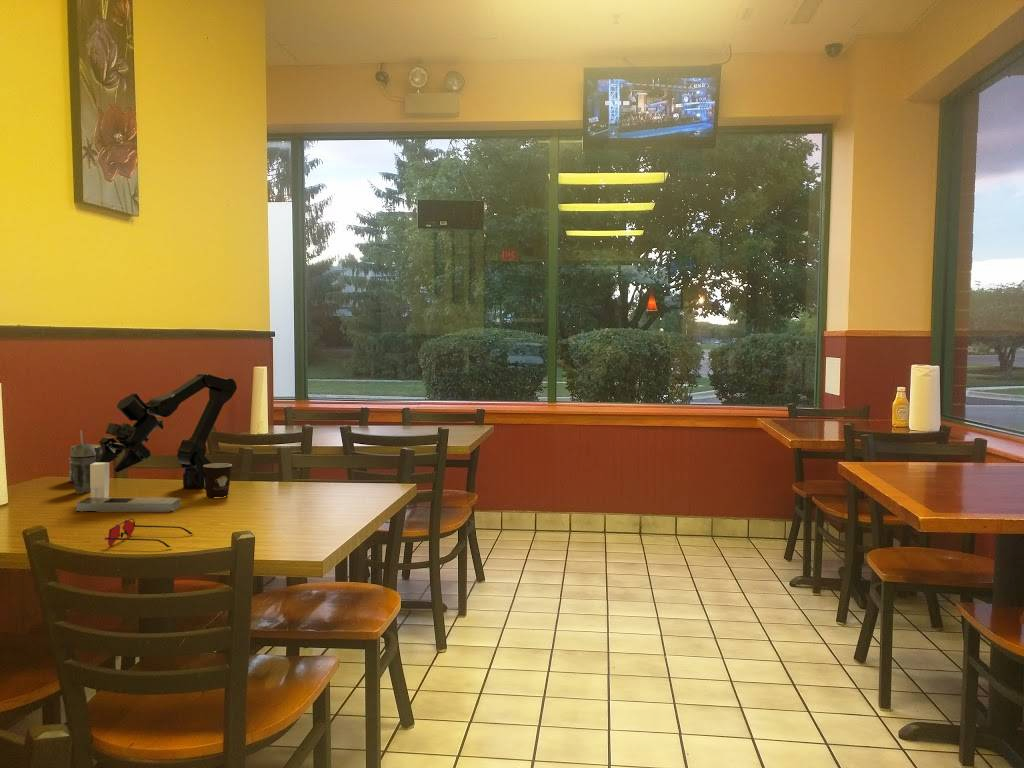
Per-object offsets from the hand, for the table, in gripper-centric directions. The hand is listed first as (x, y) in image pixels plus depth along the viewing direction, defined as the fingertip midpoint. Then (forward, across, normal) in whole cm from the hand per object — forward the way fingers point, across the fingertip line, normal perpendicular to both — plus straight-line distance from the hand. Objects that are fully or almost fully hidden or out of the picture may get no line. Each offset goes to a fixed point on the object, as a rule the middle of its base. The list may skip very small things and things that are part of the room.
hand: (106, 469), depth 239 cm
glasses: (+21, +50, -6) cm, 55 cm away
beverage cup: (+4, -19, +10) cm, 22 cm away
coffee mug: (-11, +17, +24) cm, 32 cm away
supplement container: (-4, -36, +18) cm, 40 cm away
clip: (+8, 0, +6) cm, 10 cm away
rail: (+8, +14, +6) cm, 17 cm away
